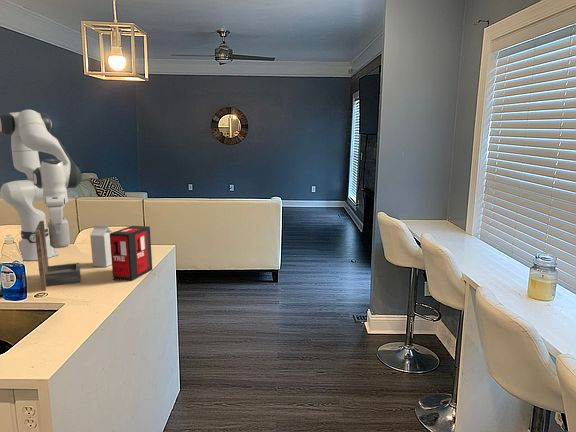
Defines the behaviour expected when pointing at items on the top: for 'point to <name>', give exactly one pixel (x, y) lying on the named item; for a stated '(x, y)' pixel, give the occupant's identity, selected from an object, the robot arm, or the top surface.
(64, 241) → the can
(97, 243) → the milk carton
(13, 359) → the top surface
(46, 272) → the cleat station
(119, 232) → the cleaning product box
